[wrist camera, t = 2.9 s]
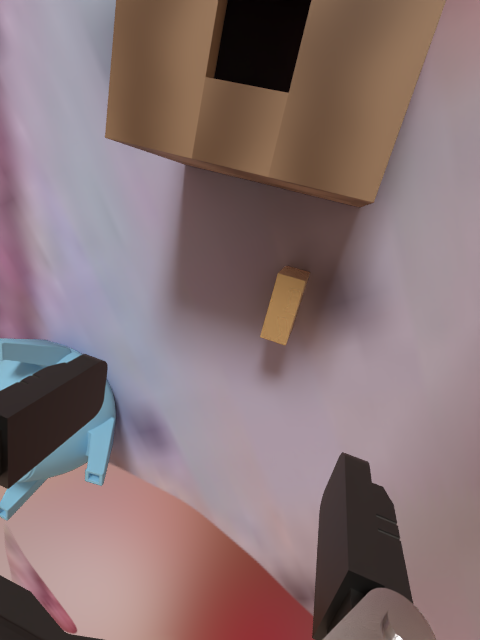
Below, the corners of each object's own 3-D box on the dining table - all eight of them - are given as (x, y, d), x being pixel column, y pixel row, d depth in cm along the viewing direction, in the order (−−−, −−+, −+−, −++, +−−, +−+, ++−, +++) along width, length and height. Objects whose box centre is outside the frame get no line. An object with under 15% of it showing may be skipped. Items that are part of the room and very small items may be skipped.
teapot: (78, 304, 34) (-31, 340, 24) (157, 426, 36) (86, 508, 26) (-6, 361, 40) (-121, 410, 30) (66, 464, 41) (-21, 543, 31)
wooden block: (310, 272, 27) (305, 281, 23) (292, 328, 28) (285, 345, 25) (286, 265, 27) (278, 273, 23) (269, 321, 29) (260, 337, 25)
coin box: (446, -41, 19) (543, -272, 10) (360, 207, 24) (373, 202, 15) (221, -66, 22) (138, -269, 13) (185, 164, 27) (105, 137, 18)
